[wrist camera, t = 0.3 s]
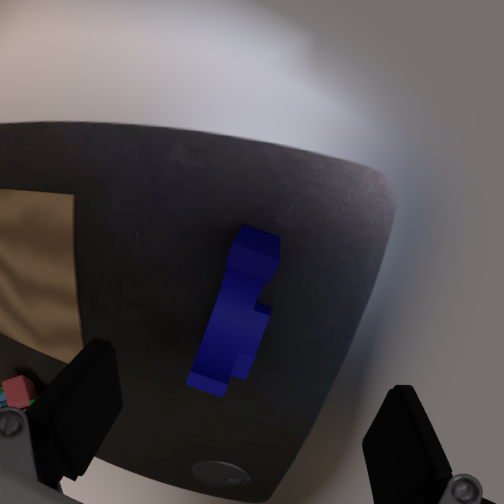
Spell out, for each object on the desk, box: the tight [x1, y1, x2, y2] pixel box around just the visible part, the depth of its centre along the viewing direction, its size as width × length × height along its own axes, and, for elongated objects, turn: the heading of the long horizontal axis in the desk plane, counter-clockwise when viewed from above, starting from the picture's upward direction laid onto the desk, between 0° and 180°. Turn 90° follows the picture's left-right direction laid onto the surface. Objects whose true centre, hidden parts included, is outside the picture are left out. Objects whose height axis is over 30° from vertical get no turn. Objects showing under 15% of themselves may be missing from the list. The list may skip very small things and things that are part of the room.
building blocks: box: [0, 375, 38, 412], centre depth 31 cm, size 8×8×12 cm
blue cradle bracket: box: [186, 224, 280, 397], centre depth 23 cm, size 12×4×6 cm, turn 161°
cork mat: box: [0, 188, 85, 363], centre depth 28 cm, size 20×20×1 cm
